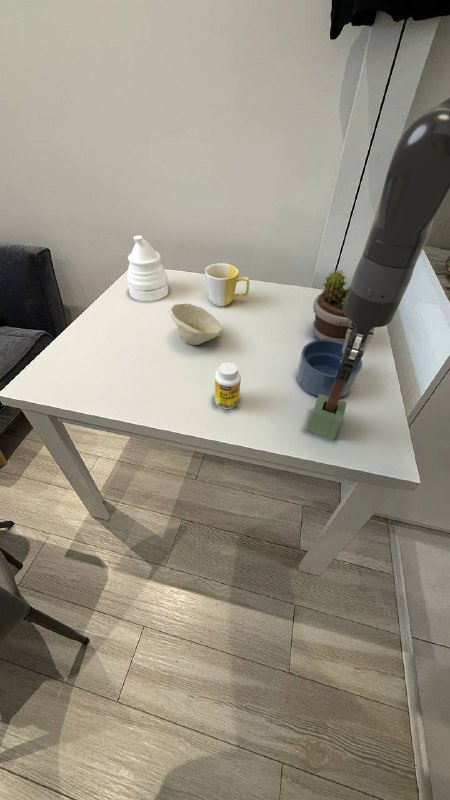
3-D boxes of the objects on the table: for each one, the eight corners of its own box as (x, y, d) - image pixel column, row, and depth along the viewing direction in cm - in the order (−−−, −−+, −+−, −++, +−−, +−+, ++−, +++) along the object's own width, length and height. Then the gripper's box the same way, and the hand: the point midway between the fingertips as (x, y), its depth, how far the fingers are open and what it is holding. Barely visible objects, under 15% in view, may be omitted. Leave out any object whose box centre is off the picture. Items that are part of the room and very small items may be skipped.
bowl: (229, 351, 88) (231, 319, 81) (178, 360, 85) (175, 328, 78) (213, 321, 98) (214, 291, 91) (167, 329, 95) (163, 297, 88)
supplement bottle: (216, 411, 74) (216, 377, 66) (213, 393, 77) (213, 360, 70) (240, 409, 74) (243, 375, 67) (236, 391, 78) (239, 358, 71)
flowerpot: (361, 329, 98) (387, 263, 83) (352, 358, 88) (380, 289, 74) (313, 317, 102) (330, 251, 87) (300, 343, 92) (316, 275, 77)
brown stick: (327, 424, 72) (357, 352, 57) (326, 429, 71) (355, 357, 56) (319, 421, 72) (346, 349, 58) (317, 427, 71) (345, 355, 57)
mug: (200, 306, 104) (200, 275, 96) (211, 291, 111) (211, 261, 103) (242, 314, 101) (244, 282, 94) (250, 299, 108) (253, 268, 100)
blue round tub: (355, 372, 84) (365, 349, 79) (346, 408, 75) (357, 384, 70) (303, 357, 88) (309, 334, 82) (289, 389, 79) (295, 366, 74)
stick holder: (338, 420, 73) (347, 402, 68) (333, 440, 69) (341, 421, 65) (312, 412, 74) (319, 393, 70) (306, 430, 70) (312, 412, 66)
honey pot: (160, 303, 104) (153, 245, 91) (123, 297, 106) (110, 240, 93) (173, 285, 113) (169, 229, 100) (139, 280, 115) (129, 224, 102)
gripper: (400, 317, 43) (357, 406, 55) (406, 273, 52) (368, 358, 64) (343, 303, 45) (314, 392, 57) (358, 263, 54) (330, 348, 66)
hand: (343, 374), depth 61 cm, fingers open, 3 cm apart
